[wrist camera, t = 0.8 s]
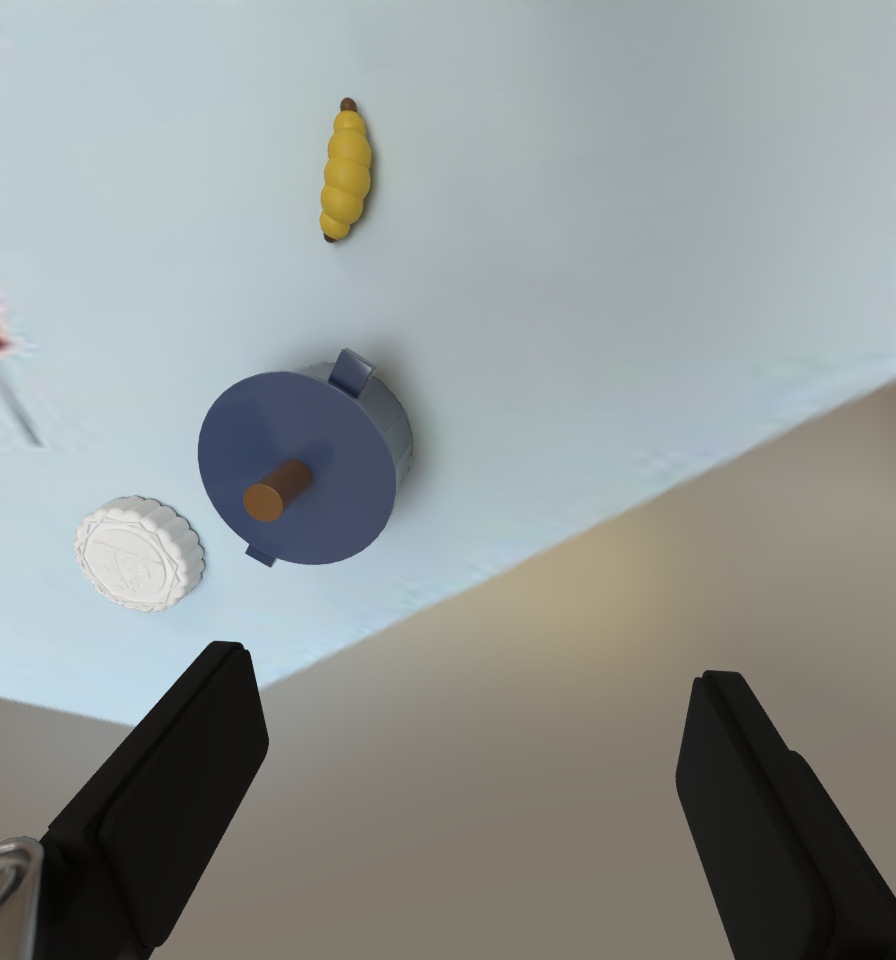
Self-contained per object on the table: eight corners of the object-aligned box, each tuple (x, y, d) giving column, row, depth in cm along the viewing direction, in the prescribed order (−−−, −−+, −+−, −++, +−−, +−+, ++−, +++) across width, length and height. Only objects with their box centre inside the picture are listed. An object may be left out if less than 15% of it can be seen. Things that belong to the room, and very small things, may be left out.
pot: (234, 483, 45) (176, 523, 37) (313, 301, 38) (262, 303, 30) (358, 553, 46) (327, 606, 38) (456, 390, 39) (443, 413, 31)
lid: (182, 495, 37) (125, 531, 31) (247, 326, 31) (191, 333, 26) (346, 588, 38) (319, 637, 33) (436, 441, 33) (421, 471, 27)
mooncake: (96, 575, 51) (68, 594, 48) (97, 479, 47) (66, 493, 44) (200, 609, 51) (179, 631, 48) (211, 517, 47) (189, 534, 44)
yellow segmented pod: (363, 252, 36) (350, 249, 33) (323, 240, 36) (306, 235, 33) (389, 115, 33) (377, 97, 30) (344, 101, 33) (328, 82, 30)
